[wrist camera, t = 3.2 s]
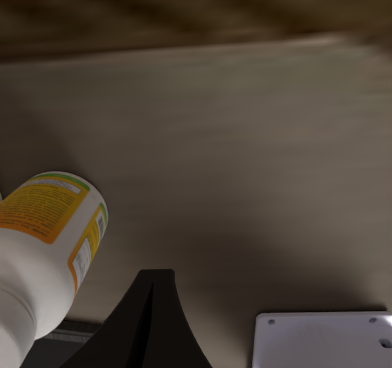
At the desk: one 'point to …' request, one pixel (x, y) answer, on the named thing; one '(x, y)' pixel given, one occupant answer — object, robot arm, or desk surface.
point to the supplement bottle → (44, 256)
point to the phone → (58, 345)
